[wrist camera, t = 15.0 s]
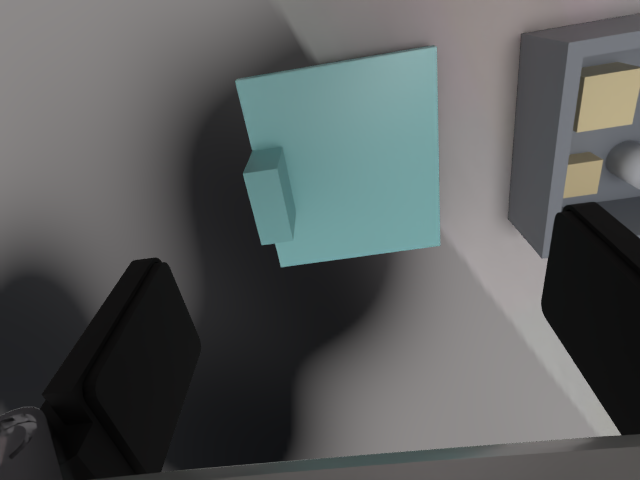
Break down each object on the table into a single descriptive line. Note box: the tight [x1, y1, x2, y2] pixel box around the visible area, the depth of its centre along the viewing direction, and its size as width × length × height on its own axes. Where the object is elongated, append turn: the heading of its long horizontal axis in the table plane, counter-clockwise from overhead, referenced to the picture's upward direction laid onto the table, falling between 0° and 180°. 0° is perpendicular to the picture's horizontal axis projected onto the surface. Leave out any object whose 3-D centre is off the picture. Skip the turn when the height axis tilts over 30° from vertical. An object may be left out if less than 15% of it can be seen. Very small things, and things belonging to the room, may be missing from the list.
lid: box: [235, 45, 440, 267], centre depth 34 cm, size 17×15×8 cm
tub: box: [508, 14, 640, 258], centre depth 32 cm, size 16×14×7 cm
